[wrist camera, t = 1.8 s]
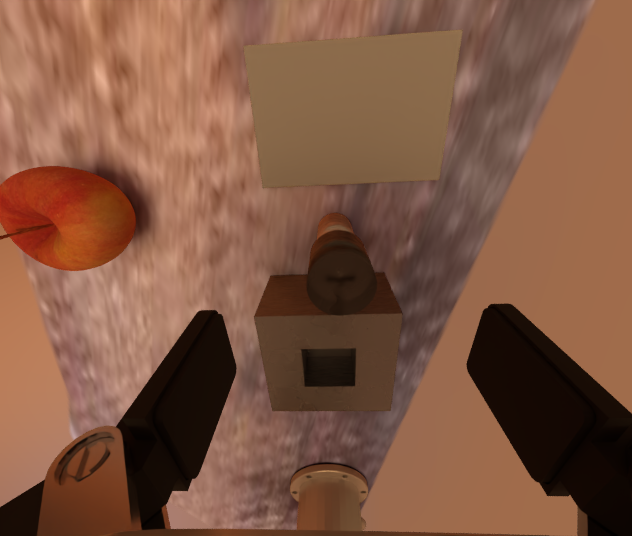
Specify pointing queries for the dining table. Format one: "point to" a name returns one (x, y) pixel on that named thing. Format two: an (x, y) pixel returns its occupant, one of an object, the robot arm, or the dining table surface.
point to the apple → (66, 217)
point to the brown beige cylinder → (339, 269)
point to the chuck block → (327, 349)
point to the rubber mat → (352, 108)
